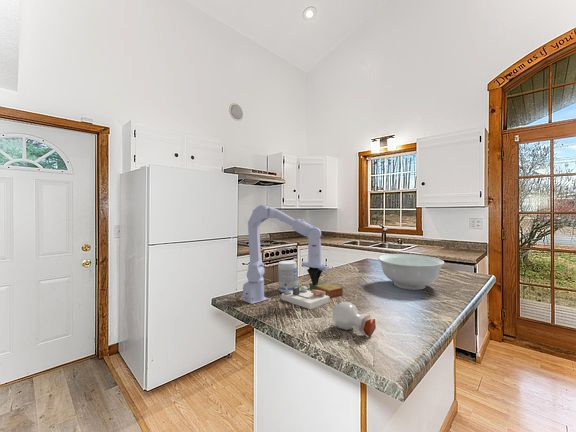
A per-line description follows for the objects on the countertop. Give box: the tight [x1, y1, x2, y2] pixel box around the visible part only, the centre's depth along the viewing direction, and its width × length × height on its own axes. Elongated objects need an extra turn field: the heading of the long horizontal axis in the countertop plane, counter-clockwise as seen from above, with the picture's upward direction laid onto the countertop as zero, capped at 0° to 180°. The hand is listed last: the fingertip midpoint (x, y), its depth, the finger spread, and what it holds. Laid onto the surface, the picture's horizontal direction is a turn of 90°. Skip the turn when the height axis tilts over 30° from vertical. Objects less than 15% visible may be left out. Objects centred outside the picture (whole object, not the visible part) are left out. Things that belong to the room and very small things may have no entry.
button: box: [299, 285, 307, 292], centre depth 136 cm, size 3×3×2 cm
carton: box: [309, 280, 344, 299], centre depth 142 cm, size 8×16×4 cm, turn 32°
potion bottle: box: [332, 301, 377, 338], centre depth 99 cm, size 9×10×15 cm
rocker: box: [311, 290, 326, 295], centre depth 130 cm, size 6×4×2 cm, turn 133°
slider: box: [293, 286, 300, 295], centre depth 132 cm, size 2×2×3 cm
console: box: [281, 289, 331, 310], centre depth 131 cm, size 13×18×4 cm
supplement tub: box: [277, 260, 298, 293], centre depth 147 cm, size 10×10×15 cm
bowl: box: [377, 253, 445, 291], centre depth 153 cm, size 32×32×15 cm
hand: (315, 284), depth 128 cm, fingers closed
